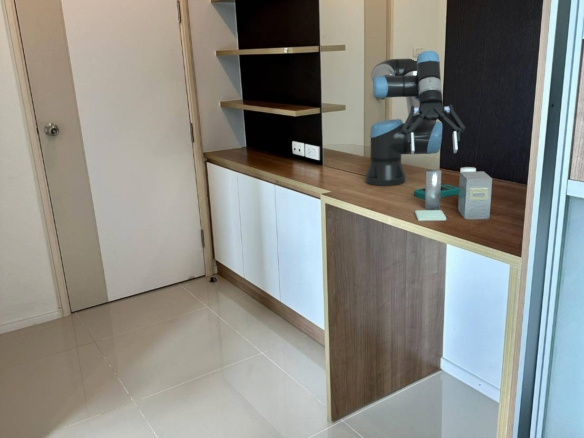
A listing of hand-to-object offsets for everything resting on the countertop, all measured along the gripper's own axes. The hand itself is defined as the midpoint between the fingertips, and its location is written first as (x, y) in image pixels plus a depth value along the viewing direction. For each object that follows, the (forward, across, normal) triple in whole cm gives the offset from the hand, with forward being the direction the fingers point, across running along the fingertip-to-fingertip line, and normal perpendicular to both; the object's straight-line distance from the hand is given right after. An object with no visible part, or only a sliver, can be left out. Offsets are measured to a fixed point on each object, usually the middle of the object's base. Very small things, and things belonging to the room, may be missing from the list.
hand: (434, 152), depth 174 cm
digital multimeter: (+10, +2, +16) cm, 18 cm away
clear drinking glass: (+19, -2, +1) cm, 19 cm away
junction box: (+23, +9, -4) cm, 25 cm away
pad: (+24, -4, -6) cm, 25 cm away
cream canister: (+17, +9, +4) cm, 20 cm away
